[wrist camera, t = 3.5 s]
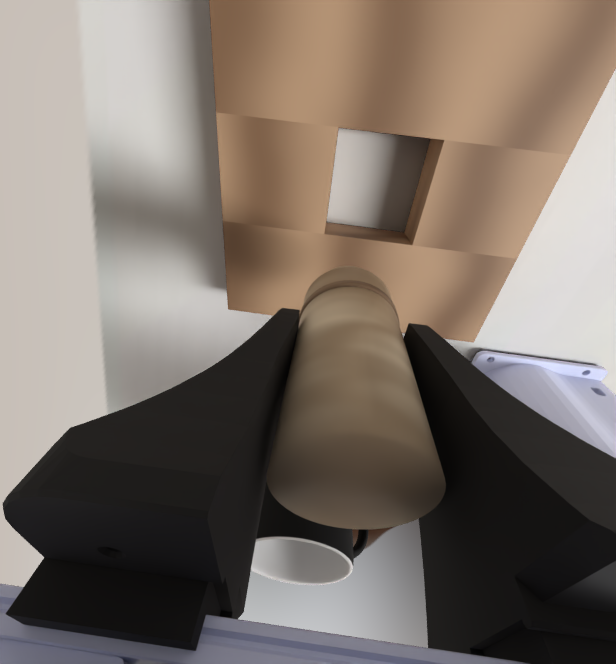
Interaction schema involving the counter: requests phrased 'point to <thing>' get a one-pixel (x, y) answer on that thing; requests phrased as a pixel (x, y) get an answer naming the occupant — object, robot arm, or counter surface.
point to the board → (400, 119)
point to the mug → (302, 547)
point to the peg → (353, 413)
